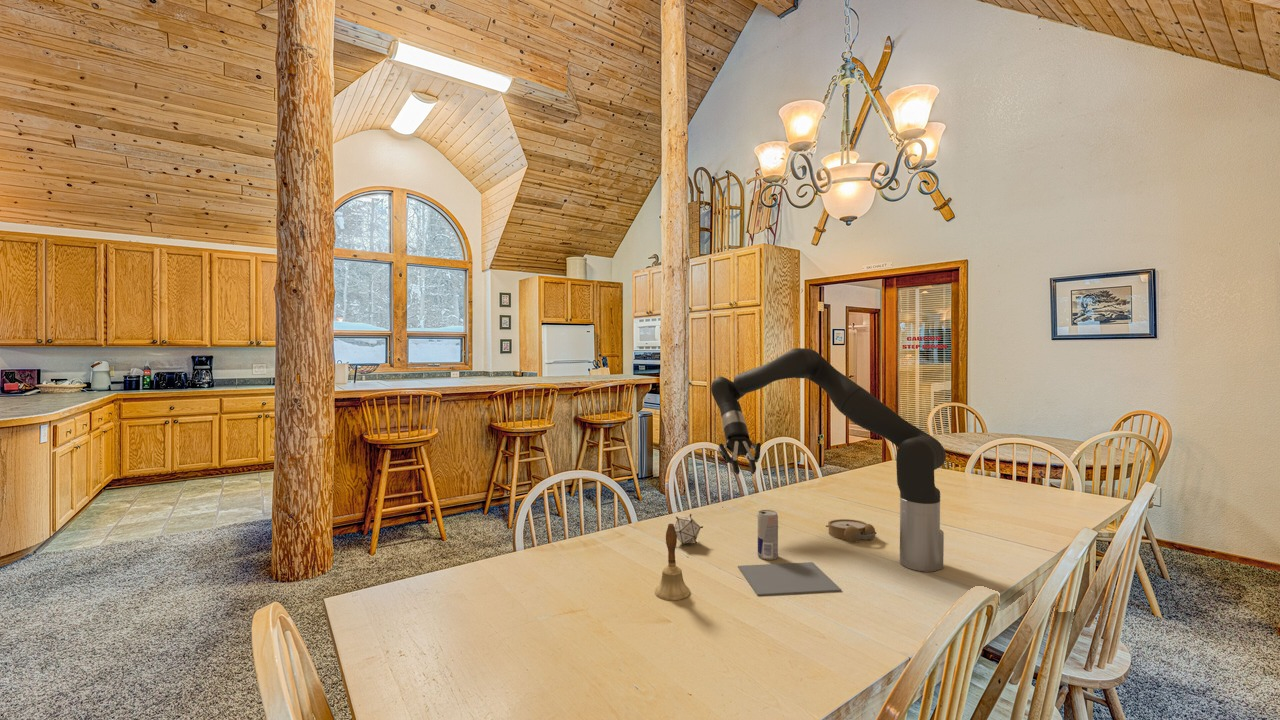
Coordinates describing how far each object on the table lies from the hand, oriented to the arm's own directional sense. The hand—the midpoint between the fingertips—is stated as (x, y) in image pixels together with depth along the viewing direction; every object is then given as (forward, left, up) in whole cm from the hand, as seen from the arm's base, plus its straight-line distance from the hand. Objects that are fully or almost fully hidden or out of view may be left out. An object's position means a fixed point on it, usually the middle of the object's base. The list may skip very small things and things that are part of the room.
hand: (745, 472), depth 166 cm
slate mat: (0, +34, -18) cm, 39 cm away
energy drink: (0, +20, -18) cm, 27 cm away
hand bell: (+29, +38, -18) cm, 51 cm away
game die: (+20, +8, -18) cm, 28 cm away
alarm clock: (-30, +8, -19) cm, 36 cm away
